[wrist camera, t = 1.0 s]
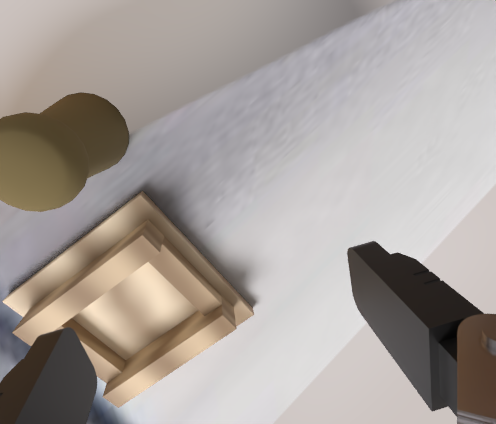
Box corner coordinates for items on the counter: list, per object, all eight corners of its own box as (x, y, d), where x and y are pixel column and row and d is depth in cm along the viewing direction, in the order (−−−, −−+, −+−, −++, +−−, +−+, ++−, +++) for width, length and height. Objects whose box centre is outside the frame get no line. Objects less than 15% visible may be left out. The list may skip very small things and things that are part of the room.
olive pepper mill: (73, 181, 28) (1, 244, 18) (30, 109, 26) (-81, 135, 16) (142, 155, 28) (107, 204, 18) (105, 80, 26) (41, 88, 16)
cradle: (142, 190, 29) (133, 208, 26) (252, 308, 35) (258, 336, 32) (8, 294, 31) (-18, 324, 28) (133, 388, 37) (125, 423, 34)
